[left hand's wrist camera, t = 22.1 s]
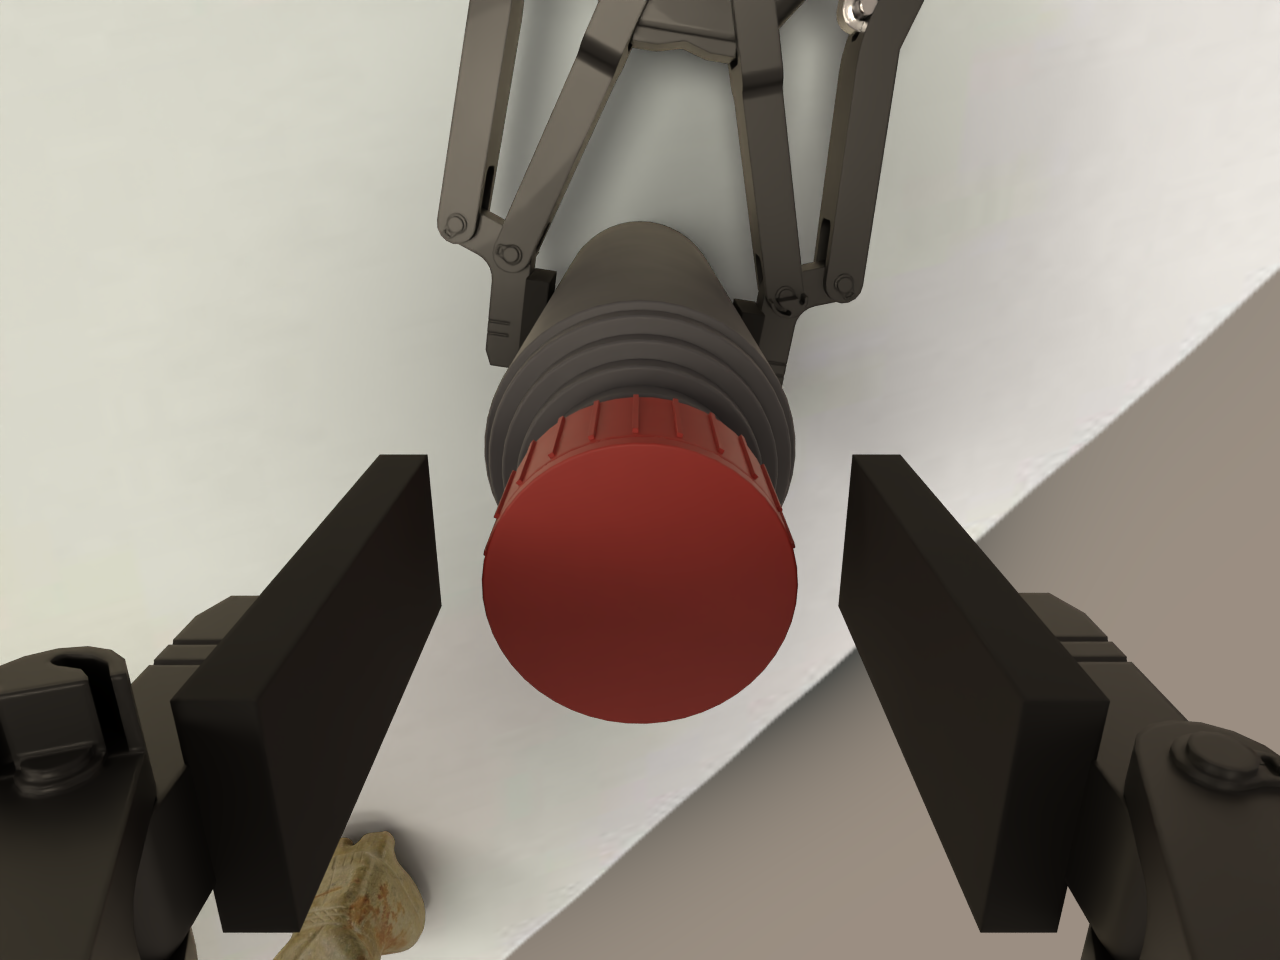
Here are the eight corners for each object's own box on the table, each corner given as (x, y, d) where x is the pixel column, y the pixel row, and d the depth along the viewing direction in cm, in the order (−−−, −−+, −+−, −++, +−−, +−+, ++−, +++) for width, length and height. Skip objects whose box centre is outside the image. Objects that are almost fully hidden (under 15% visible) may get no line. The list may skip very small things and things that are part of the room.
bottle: (640, 186, 34) (640, 262, 11) (748, 301, 36) (942, 573, 13) (531, 300, 36) (337, 572, 13) (639, 405, 37) (639, 814, 14)
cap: (817, 584, 15) (848, 660, 13) (578, 680, 15) (568, 768, 13) (711, 344, 13) (726, 383, 11) (452, 463, 14) (417, 521, 12)
